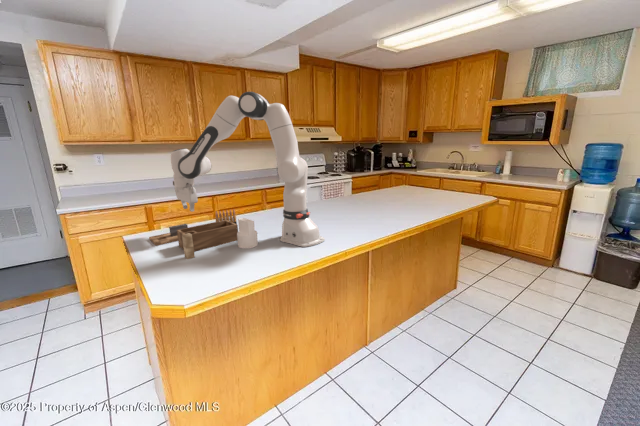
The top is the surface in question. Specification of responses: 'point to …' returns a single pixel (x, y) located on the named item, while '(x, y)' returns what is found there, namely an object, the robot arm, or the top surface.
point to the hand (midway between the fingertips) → (188, 209)
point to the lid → (168, 235)
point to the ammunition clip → (226, 216)
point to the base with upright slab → (246, 234)
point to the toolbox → (210, 234)
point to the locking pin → (188, 246)
